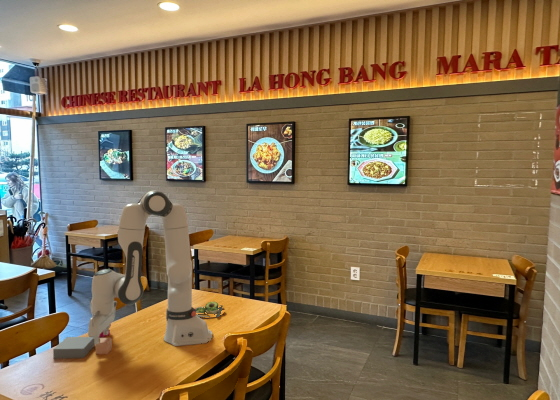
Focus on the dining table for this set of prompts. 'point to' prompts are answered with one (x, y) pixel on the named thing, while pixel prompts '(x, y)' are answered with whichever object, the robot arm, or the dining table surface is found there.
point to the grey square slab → (73, 347)
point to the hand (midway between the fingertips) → (101, 339)
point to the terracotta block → (104, 346)
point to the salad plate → (210, 309)
